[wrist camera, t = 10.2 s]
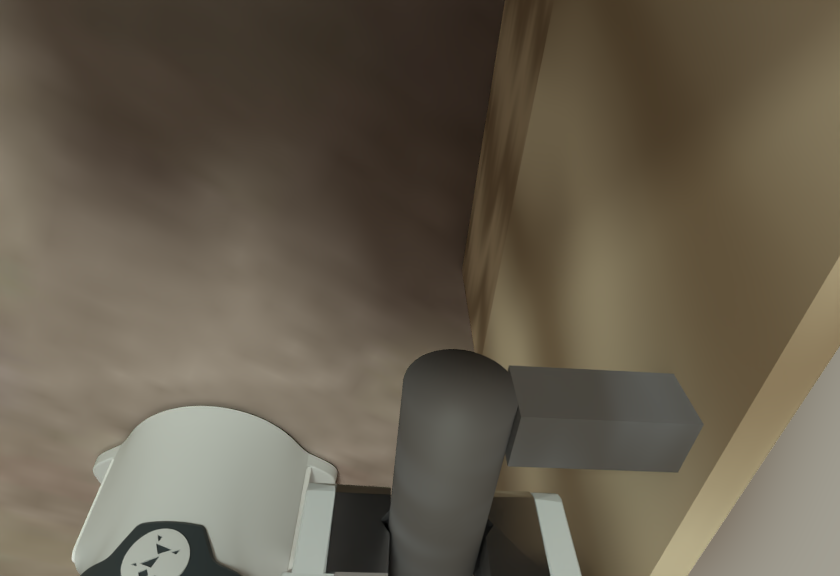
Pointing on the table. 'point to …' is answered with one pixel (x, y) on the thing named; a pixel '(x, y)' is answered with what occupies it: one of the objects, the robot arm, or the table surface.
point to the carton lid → (642, 288)
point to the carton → (502, 153)
